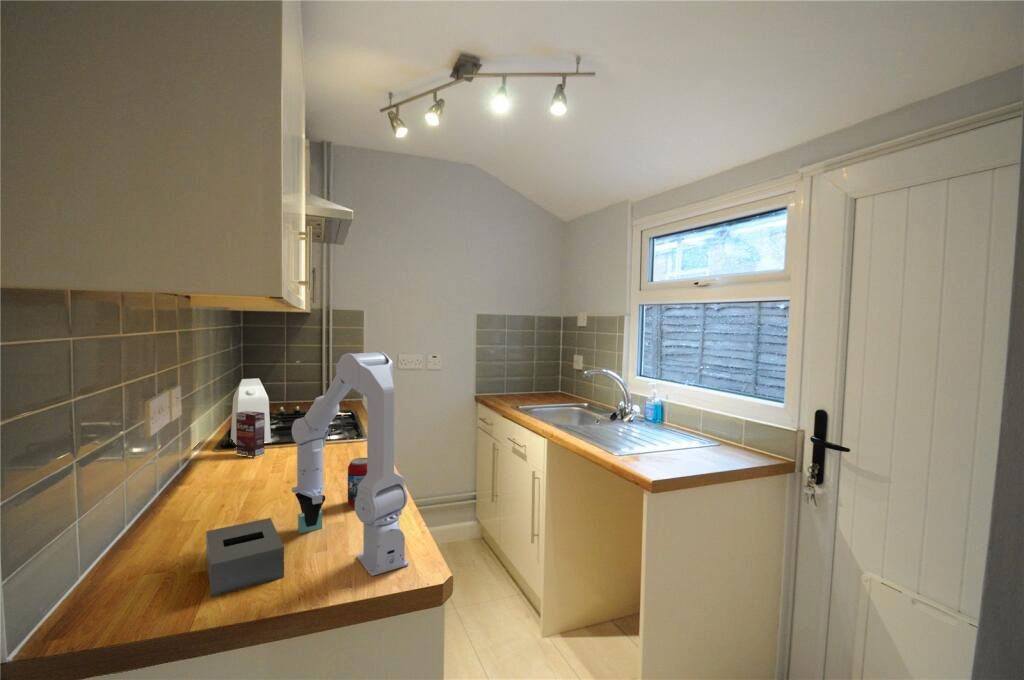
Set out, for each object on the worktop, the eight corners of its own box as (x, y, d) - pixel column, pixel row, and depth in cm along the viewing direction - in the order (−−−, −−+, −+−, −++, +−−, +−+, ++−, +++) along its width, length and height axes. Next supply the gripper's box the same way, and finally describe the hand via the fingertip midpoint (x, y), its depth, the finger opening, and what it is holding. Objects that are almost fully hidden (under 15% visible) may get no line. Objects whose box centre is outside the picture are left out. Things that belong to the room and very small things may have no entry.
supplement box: (235, 456, 168) (235, 412, 168) (246, 452, 173) (246, 410, 172) (254, 458, 166) (254, 414, 165) (265, 455, 171) (265, 412, 170)
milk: (264, 439, 193) (263, 376, 192) (271, 445, 184) (270, 379, 183) (230, 443, 185) (230, 378, 184) (236, 450, 176) (235, 381, 175)
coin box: (284, 577, 91) (284, 547, 91) (211, 597, 84) (210, 564, 84) (270, 544, 104) (270, 517, 104) (206, 559, 97) (206, 531, 97)
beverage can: (346, 509, 124) (346, 465, 123) (348, 500, 130) (348, 457, 130) (373, 507, 126) (373, 463, 125) (373, 498, 132) (374, 456, 132)
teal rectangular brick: (322, 528, 113) (322, 512, 112) (299, 533, 110) (299, 517, 110) (320, 525, 114) (320, 509, 114) (298, 530, 111) (298, 514, 111)
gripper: (286, 462, 115) (286, 516, 115) (298, 479, 103) (298, 539, 104) (316, 457, 119) (316, 510, 120) (331, 473, 107) (331, 531, 108)
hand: (310, 523), depth 112 cm, fingers closed on teal rectangular brick, 2 cm apart
